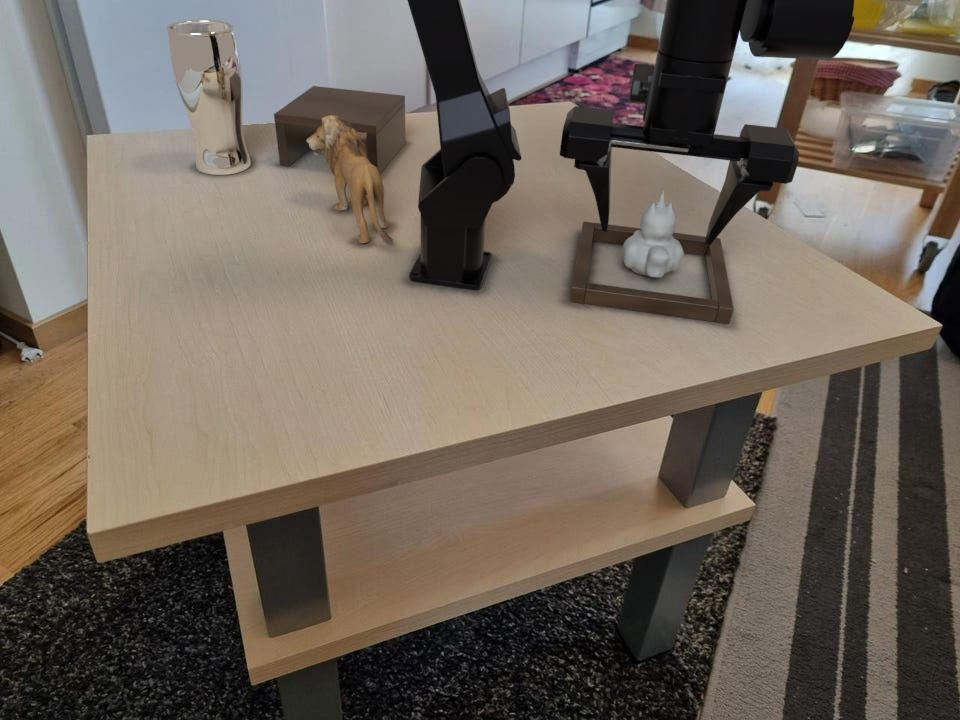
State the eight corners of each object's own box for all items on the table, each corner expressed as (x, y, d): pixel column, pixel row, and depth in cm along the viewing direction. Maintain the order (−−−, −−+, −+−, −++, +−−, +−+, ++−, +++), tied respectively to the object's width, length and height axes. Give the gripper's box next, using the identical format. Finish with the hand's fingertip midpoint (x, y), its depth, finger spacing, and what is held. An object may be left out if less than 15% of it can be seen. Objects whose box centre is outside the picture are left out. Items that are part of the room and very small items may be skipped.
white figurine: (671, 260, 69) (689, 181, 65) (683, 295, 64) (704, 212, 59) (615, 256, 69) (629, 178, 65) (623, 291, 64) (639, 208, 59)
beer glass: (232, 180, 80) (208, 36, 71) (179, 170, 81) (149, 28, 72) (266, 160, 85) (248, 24, 76) (216, 151, 87) (193, 16, 78)
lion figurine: (308, 197, 77) (299, 113, 72) (353, 188, 79) (348, 107, 74) (368, 254, 67) (363, 162, 62) (417, 242, 70) (417, 152, 64)
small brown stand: (377, 177, 82) (375, 125, 79) (279, 165, 84) (273, 114, 80) (405, 142, 92) (405, 95, 88) (317, 132, 93) (313, 85, 90)
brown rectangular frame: (729, 324, 60) (733, 309, 60) (569, 302, 62) (571, 287, 61) (716, 251, 71) (720, 238, 70) (581, 234, 73) (583, 221, 72)
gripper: (801, 42, 60) (751, 213, 70) (582, 22, 63) (561, 190, 72) (828, 76, 51) (766, 266, 61) (571, 51, 54) (549, 238, 63)
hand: (655, 236), depth 64 cm, fingers open, 9 cm apart
